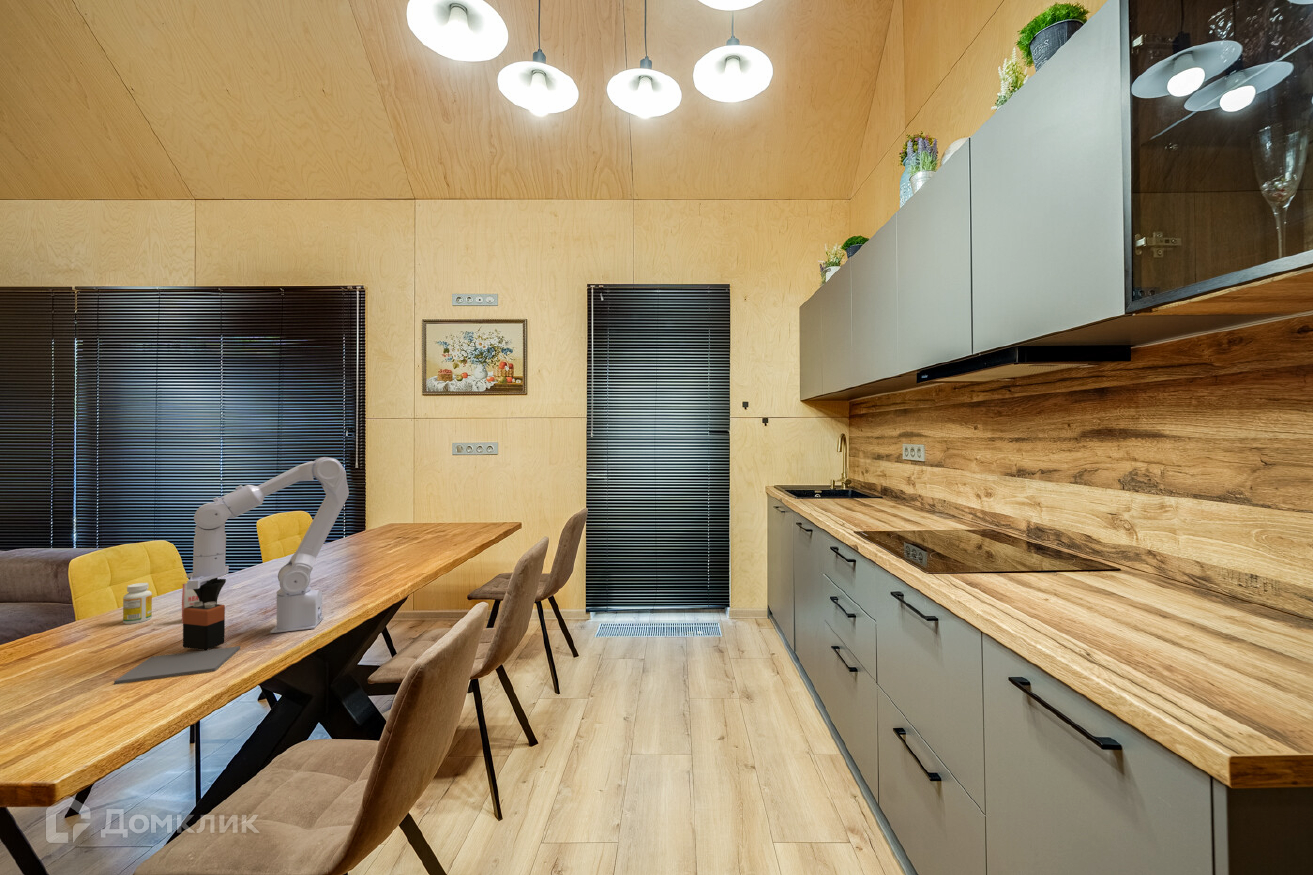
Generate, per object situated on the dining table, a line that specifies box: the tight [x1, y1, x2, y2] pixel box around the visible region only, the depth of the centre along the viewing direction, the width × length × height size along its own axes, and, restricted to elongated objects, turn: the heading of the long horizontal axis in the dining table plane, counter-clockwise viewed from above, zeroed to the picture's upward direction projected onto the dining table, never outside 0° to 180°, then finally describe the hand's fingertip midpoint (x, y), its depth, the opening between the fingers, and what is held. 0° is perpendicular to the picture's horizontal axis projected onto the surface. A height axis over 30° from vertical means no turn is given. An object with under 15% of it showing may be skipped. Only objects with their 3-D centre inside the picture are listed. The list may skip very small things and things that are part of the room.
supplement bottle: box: [122, 582, 153, 625], centre depth 134 cm, size 5×5×10 cm
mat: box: [113, 645, 241, 685], centre depth 107 cm, size 16×12×1 cm
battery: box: [182, 601, 226, 651], centre depth 116 cm, size 4×7×10 cm, turn 79°
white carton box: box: [181, 582, 199, 624], centre depth 136 cm, size 4×7×10 cm, turn 127°
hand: (207, 611), depth 119 cm, fingers closed, pressing on battery
